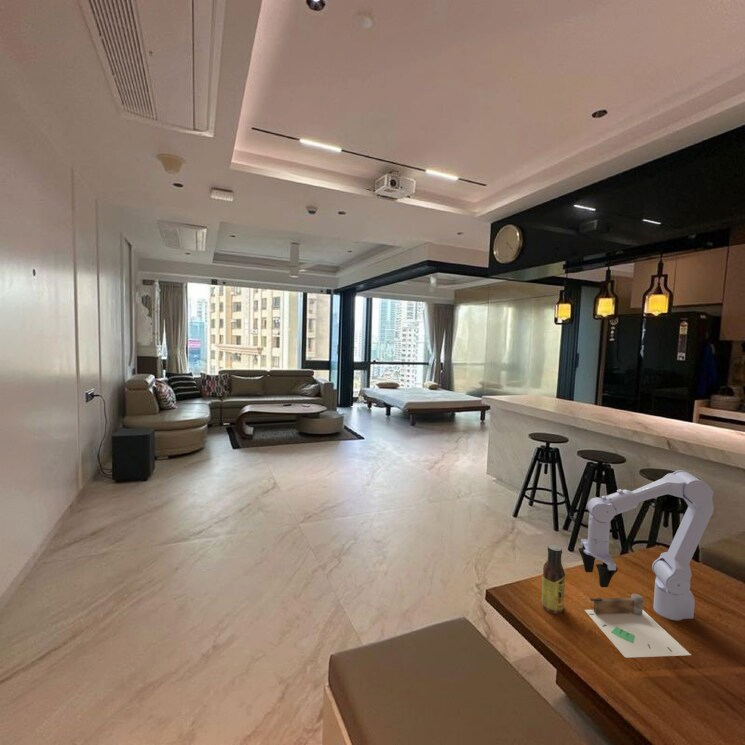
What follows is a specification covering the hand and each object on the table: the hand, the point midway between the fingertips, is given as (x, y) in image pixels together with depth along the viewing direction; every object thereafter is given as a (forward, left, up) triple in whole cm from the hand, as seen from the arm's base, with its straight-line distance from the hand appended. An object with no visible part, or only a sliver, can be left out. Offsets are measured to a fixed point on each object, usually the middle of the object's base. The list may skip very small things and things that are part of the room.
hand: (596, 578), depth 123 cm
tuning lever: (-3, +6, -7) cm, 9 cm away
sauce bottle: (+15, +2, -9) cm, 17 cm away
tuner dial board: (-3, +13, -8) cm, 16 cm away
